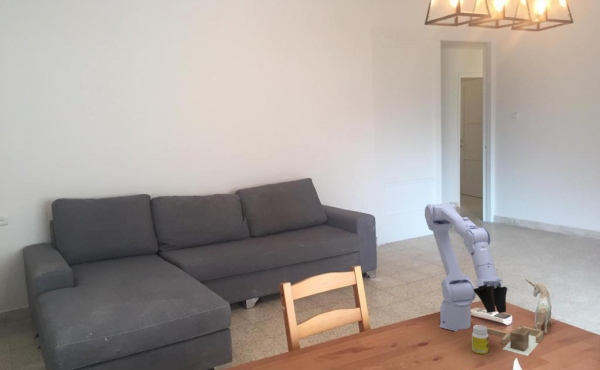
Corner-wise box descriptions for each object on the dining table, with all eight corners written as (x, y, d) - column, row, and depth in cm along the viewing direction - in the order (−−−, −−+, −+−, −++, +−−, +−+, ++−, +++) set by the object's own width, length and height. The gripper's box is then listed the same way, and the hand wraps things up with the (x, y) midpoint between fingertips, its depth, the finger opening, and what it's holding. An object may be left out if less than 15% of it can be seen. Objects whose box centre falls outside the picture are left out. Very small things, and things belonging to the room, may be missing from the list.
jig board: (473, 344, 156) (473, 335, 156) (492, 326, 168) (492, 318, 168) (527, 358, 145) (527, 349, 145) (544, 339, 157) (544, 330, 157)
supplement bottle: (489, 357, 147) (489, 330, 146) (473, 357, 148) (473, 330, 147) (487, 350, 152) (487, 324, 151) (471, 349, 153) (470, 323, 152)
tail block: (510, 348, 150) (510, 332, 150) (515, 343, 153) (515, 327, 153) (524, 351, 148) (524, 335, 147) (528, 346, 151) (528, 331, 150)
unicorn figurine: (546, 316, 175) (547, 279, 173) (561, 340, 156) (561, 299, 154) (524, 315, 176) (525, 278, 175) (536, 339, 158) (536, 298, 156)
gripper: (486, 261, 142) (499, 308, 137) (506, 265, 152) (520, 309, 147) (464, 267, 147) (476, 313, 141) (485, 271, 157) (497, 314, 151)
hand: (497, 312), depth 145 cm, fingers open, 7 cm apart
